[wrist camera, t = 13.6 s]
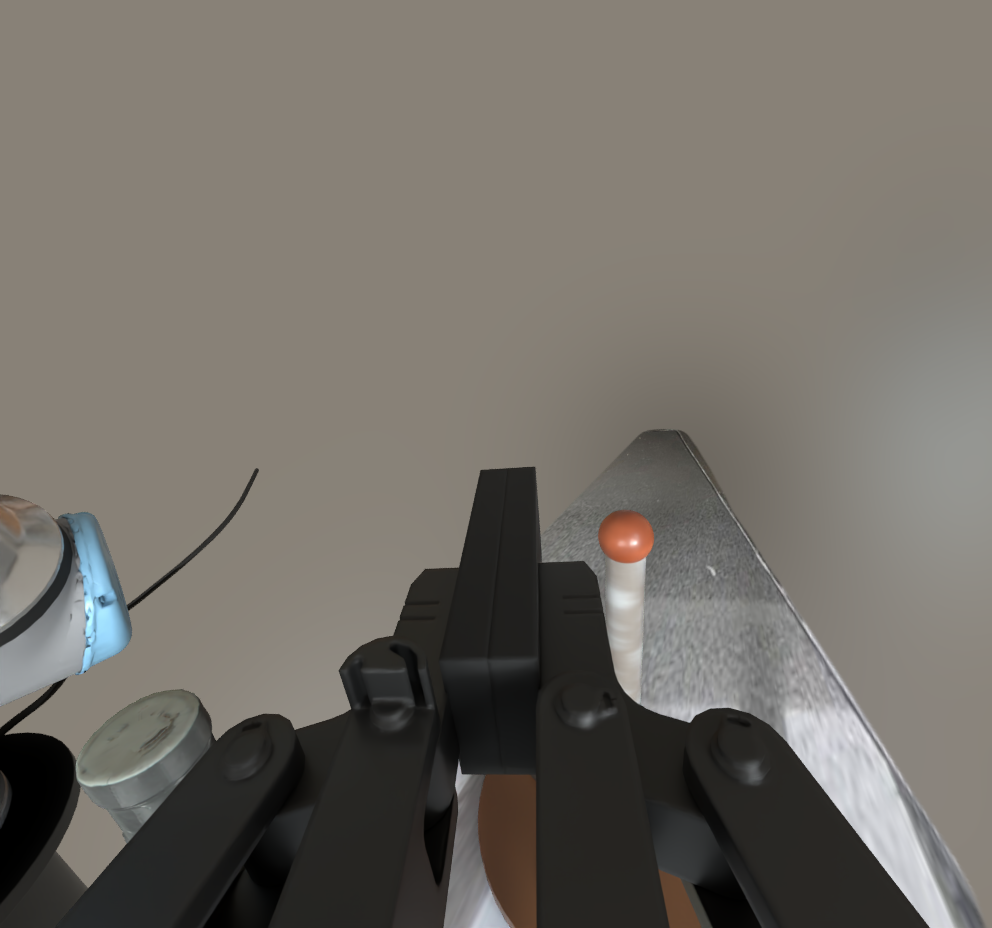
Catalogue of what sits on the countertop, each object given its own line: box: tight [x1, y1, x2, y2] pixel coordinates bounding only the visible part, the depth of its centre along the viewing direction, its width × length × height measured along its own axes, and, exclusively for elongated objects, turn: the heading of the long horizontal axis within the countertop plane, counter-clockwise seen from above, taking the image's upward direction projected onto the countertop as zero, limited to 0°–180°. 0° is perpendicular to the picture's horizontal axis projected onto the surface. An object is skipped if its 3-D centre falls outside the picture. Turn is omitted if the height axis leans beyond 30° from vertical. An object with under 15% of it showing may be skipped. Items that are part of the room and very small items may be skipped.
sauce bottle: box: [76, 689, 216, 843], centre depth 22 cm, size 7×6×20 cm
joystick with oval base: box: [478, 510, 702, 928], centre depth 27 cm, size 16×16×19 cm
